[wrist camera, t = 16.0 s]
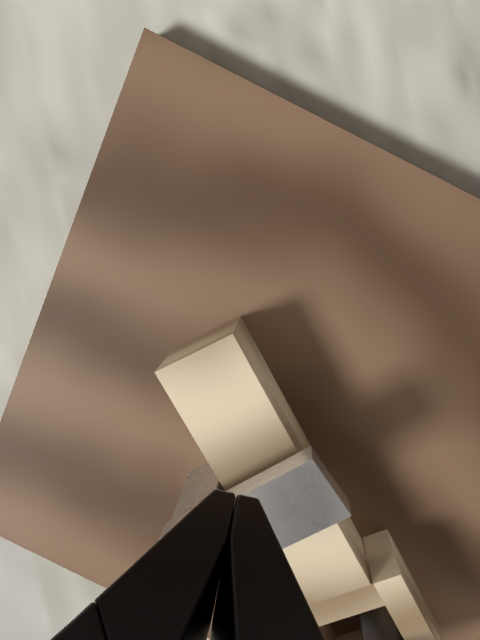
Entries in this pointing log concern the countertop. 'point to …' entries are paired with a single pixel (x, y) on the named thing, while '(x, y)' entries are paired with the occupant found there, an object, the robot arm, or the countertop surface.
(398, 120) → the countertop surface
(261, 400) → the link
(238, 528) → the robot arm
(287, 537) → the keeper
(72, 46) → the countertop surface
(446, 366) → the base board
